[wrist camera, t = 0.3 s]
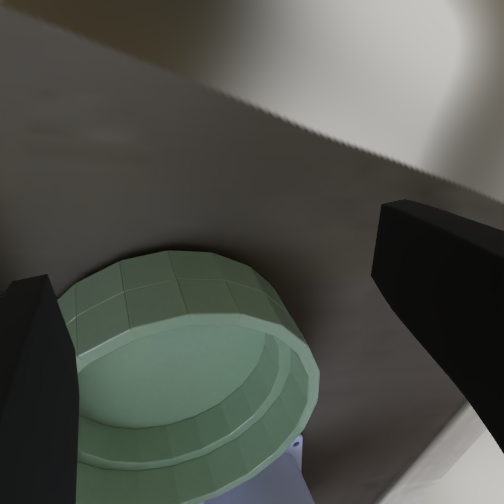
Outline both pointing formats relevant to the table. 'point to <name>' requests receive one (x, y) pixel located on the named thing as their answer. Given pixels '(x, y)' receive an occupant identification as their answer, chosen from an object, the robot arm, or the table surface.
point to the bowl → (183, 378)
